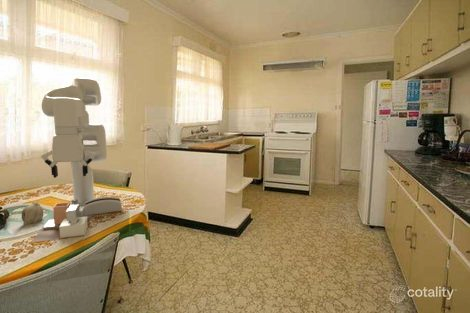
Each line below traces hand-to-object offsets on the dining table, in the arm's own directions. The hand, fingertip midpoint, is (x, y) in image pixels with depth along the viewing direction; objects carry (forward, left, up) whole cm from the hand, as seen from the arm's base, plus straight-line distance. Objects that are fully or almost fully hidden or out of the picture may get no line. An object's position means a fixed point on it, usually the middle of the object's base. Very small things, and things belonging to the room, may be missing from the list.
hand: (70, 176), depth 103 cm
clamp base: (-10, -4, -23) cm, 25 cm away
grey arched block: (-21, +8, -25) cm, 33 cm away
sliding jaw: (-10, -6, -21) cm, 24 cm away
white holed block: (0, 0, -23) cm, 23 cm away
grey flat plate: (-5, -4, -24) cm, 25 cm away
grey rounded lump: (-18, -19, -24) cm, 36 cm away
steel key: (0, 0, -23) cm, 23 cm away
